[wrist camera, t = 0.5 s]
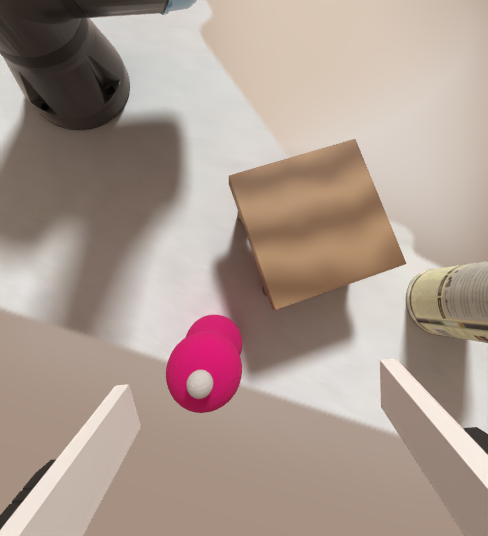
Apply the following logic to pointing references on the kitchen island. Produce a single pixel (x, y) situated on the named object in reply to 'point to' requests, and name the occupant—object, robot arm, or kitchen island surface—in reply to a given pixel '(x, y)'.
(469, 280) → the coffee can
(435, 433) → the robot arm
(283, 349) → the kitchen island surface
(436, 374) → the kitchen island surface
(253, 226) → the stool
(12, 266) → the kitchen island surface
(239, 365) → the pepper mill
